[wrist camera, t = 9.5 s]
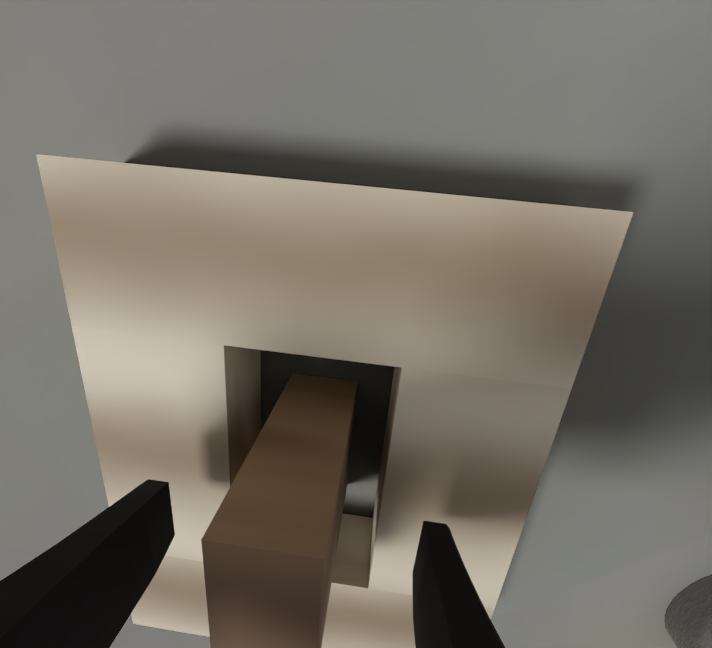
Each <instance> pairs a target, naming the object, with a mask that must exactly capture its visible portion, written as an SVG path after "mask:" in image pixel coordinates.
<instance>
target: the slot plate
mask: <svg viewBox="0 0 712 648" xmlns="http://www.w3.org/2000/svg"><path fill="white" fill-rule="evenodd" d="M36 156H37V160H38V165H39V170H40V175H41V180H42V185H43V189H44V194H45V199H46V204H47V209H48V214H49V219H50V223H51V228H52V233H53V238H54V243H55V248H56V252H57V257H58V262H59V267H60V272H61V277H62V281H63V286H64V291H65V296H66V301H67V306H68V310H69V315H70V320H71V325H72V330H73V335H74V340H75V344H76V349H77V354H78V359H79V364H80V369H81V373H82V378H83V383H84V388H85V393H86V398H87V402H88V407H89V412H90V417H91V422H92V427H93V431H94V436H95V441H96V446H97V451H98V456H99V461H100V465H101V470H102V475H103V480H104V485H105V490H106V494H107V499H108V504H109V507H110V506H111V505H113V504H114V503H115V502H117V501H118V500H120V499H121V498H122V497H124V496H125V495H126V494H128V493H129V492H131V491H132V490H133V489H135V488H136V487H138V486H139V485H140V484H142V483H143V482H145V481H146V480H148V479H150V480H157V481H164V482H169V490H170V498H171V506H172V515H173V523H174V531H175V536H174V538H173V540H172V542H171V544H170V546H169V548H168V550H167V552H166V554H165V556H164V558H163V560H162V562H161V564H160V566H159V568H158V570H157V572H156V574H155V576H154V577H153V579H152V581H151V582H150V584H149V586H148V587H147V589H146V590H145V592H144V594H143V595H142V597H141V598H140V600H139V602H138V603H137V605H136V606H135V608H134V609H133V611H132V613H131V615H132V620H133V624H138V625H144V626H150V627H156V628H161V629H167V630H173V631H179V632H184V633H190V634H196V635H202V636H208V637H210V633H209V622H208V611H207V600H206V588H205V577H204V566H203V554H202V543H201V539H202V537H203V536H204V534H205V532H206V530H207V528H208V527H209V525H210V523H211V521H212V519H213V517H214V516H215V514H216V512H217V510H218V508H219V507H220V505H221V503H222V501H223V499H224V497H225V496H226V494H227V492H228V490H229V488H230V486H231V485H232V483H233V481H234V479H235V477H236V476H237V474H238V472H239V470H240V468H241V466H242V465H243V463H244V461H245V459H246V457H247V456H248V454H249V452H250V450H251V448H252V446H253V445H254V443H255V441H256V439H257V437H258V435H259V434H260V432H261V350H265V351H273V352H281V353H289V354H297V355H305V356H313V357H321V358H329V359H337V360H345V361H353V362H361V363H369V364H377V365H385V366H393V367H394V373H393V380H392V387H391V394H390V401H389V408H388V415H387V422H386V429H385V436H384V443H383V450H382V456H381V463H380V470H379V477H378V484H377V491H376V498H375V505H374V512H373V518H370V517H364V516H357V515H350V514H344V513H342V520H341V526H340V532H339V539H338V545H337V551H336V558H335V564H334V570H333V577H332V583H331V589H330V596H329V602H328V608H327V614H326V621H325V627H324V633H323V640H322V646H321V648H416V646H415V636H414V625H413V577H412V573H413V568H414V563H415V558H416V554H417V549H418V544H419V539H420V535H421V530H422V525H423V521H430V522H437V523H443V524H447V526H448V527H449V528H450V531H451V534H452V536H453V539H454V541H455V544H456V546H457V549H458V551H459V554H460V556H461V558H462V561H463V563H464V565H465V567H466V570H467V572H468V574H469V576H470V579H471V581H472V583H473V585H474V587H475V589H476V591H477V594H478V596H479V598H480V600H481V602H482V604H483V606H484V608H485V610H486V612H487V614H488V616H489V618H490V620H491V617H492V614H493V612H494V609H495V606H496V603H497V600H498V597H499V594H500V592H501V589H502V586H503V583H504V580H505V577H506V575H507V572H508V569H509V566H510V563H511V560H512V557H513V555H514V552H515V549H516V546H517V543H518V540H519V537H520V535H521V532H522V529H523V526H524V523H525V520H526V517H527V515H528V512H529V509H530V506H531V503H532V500H533V498H534V495H535V492H536V489H537V486H538V483H539V480H540V478H541V475H542V472H543V469H544V466H545V463H546V460H547V458H548V455H549V452H550V449H551V446H552V443H553V440H554V438H555V435H556V432H557V429H558V426H559V423H560V421H561V418H562V415H563V412H564V409H565V406H566V403H567V401H568V398H569V395H570V392H571V389H572V386H573V383H574V381H575V378H576V375H577V372H578V369H579V366H580V363H581V361H582V358H583V355H584V352H585V349H586V346H587V344H588V341H589V338H590V335H591V332H592V329H593V326H594V324H595V321H596V318H597V315H598V312H599V309H600V306H601V304H602V301H603V298H604V295H605V292H606V289H607V286H608V284H609V281H610V278H611V275H612V272H613V269H614V267H615V264H616V261H617V258H618V255H619V252H620V249H621V247H622V244H623V241H624V238H625V235H626V232H627V229H628V227H629V224H630V221H631V218H632V215H633V212H627V211H616V210H606V209H596V208H586V207H576V206H566V205H555V204H545V203H535V202H524V201H514V200H504V199H493V198H483V197H473V196H462V195H452V194H442V193H431V192H421V191H411V190H400V189H390V188H380V187H369V186H359V185H349V184H338V183H328V182H318V181H307V180H297V179H287V178H276V177H266V176H256V175H245V174H235V173H225V172H214V171H204V170H194V169H183V168H173V167H163V166H152V165H142V164H132V163H121V162H111V161H100V160H90V159H79V158H69V157H58V156H48V155H37V154H36Z"/></svg>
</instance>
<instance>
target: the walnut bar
mask: <svg viewBox="0 0 712 648" xmlns="http://www.w3.org/2000/svg"><path fill="white" fill-rule="evenodd" d="M357 384H358V382H356V381H348V380H340V379H332V378H324V377H316V376H308V375H301V374H292V375H291V377H290V379H289V381H288V383H287V384H286V386H285V388H284V390H283V392H282V394H281V395H280V397H279V399H278V401H277V403H276V404H275V406H274V408H273V410H272V412H271V414H270V415H269V417H268V419H267V421H266V423H265V425H264V426H263V428H262V430H261V432H260V434H259V435H258V437H257V439H256V441H255V443H254V445H253V446H252V448H251V450H250V452H249V454H248V456H247V457H246V459H245V461H244V463H243V465H242V466H241V468H240V470H239V472H238V474H237V476H236V477H235V479H234V481H233V483H232V485H231V486H230V488H229V490H228V492H227V494H226V496H225V497H224V499H223V501H222V503H221V505H220V507H219V508H218V510H217V512H216V514H215V516H214V517H213V519H212V521H211V523H210V525H209V527H208V528H207V530H206V532H205V534H204V536H203V537H202V539H201V543H202V554H203V566H204V577H205V588H206V600H207V611H208V622H209V633H210V645H211V648H321V646H322V640H323V633H324V627H325V621H326V614H327V608H328V602H329V596H330V589H331V583H332V577H333V570H334V564H335V558H336V551H337V545H338V539H339V532H340V526H341V520H342V513H343V507H344V501H345V494H346V488H347V480H348V470H349V461H350V451H351V442H352V432H353V422H354V413H355V403H356V393H357Z"/></svg>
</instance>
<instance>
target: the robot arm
mask: <svg viewBox="0 0 712 648" xmlns="http://www.w3.org/2000/svg"><path fill="white" fill-rule="evenodd" d="M174 536H175V531H174V523H173V515H172V506H171V498H170V490H169V482H164V481H157V480H150V479H148V480H146V481H145V482H143V483H142V484H140V485H139V486H138V487H136V488H135V489H133V490H132V491H131V492H129V493H128V494H126V495H125V496H124V497H122V498H121V499H120V500H118V501H117V502H115V503H114V504H113V505H111V506H110V507H108V508H107V509H106V510H104V511H103V512H101V513H100V514H99V515H97V516H96V517H95V518H93V519H92V520H90V521H89V522H87V523H86V524H85V525H83V526H82V527H80V528H79V529H77V530H76V531H75V532H73V533H72V534H70V535H69V536H67V537H66V538H65V539H63V540H62V541H60V542H59V543H57V544H56V545H54V546H53V547H51V548H50V549H48V550H47V551H45V552H44V553H42V554H41V555H39V556H38V557H36V558H35V559H33V560H32V561H30V562H29V563H27V564H26V565H24V566H23V567H21V568H20V569H18V570H17V571H15V572H14V573H12V574H10V575H9V576H7V577H6V578H4V579H3V580H1V581H0V648H109V647H110V646H111V644H112V642H113V641H114V639H115V638H116V636H117V635H118V633H119V631H120V630H121V628H122V627H123V625H124V624H125V622H126V620H127V619H128V617H129V616H130V614H131V613H132V611H133V609H134V608H135V606H136V605H137V603H138V602H139V600H140V598H141V597H142V595H143V594H144V592H145V590H146V589H147V587H148V586H149V584H150V582H151V581H152V579H153V577H154V576H155V574H156V572H157V570H158V568H159V566H160V564H161V562H162V560H163V558H164V556H165V554H166V552H167V550H168V548H169V546H170V544H171V542H172V540H173V538H174ZM412 577H413V625H414V636H415V646H416V648H505V647H504V645H503V643H502V641H501V639H500V637H499V635H498V633H497V631H496V630H495V628H494V626H493V624H492V622H491V620H490V618H489V616H488V614H487V612H486V610H485V608H484V606H483V604H482V602H481V600H480V598H479V596H478V594H477V591H476V589H475V587H474V585H473V583H472V581H471V579H470V576H469V574H468V572H467V570H466V567H465V565H464V563H463V561H462V558H461V556H460V554H459V551H458V549H457V546H456V544H455V541H454V539H453V536H452V534H451V531H450V528H449V527H448V526H447V524H443V523H437V522H430V521H423V525H422V530H421V535H420V539H419V544H418V549H417V554H416V558H415V563H414V568H413V573H412Z"/></svg>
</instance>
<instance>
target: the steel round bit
mask: <svg viewBox="0 0 712 648" xmlns="http://www.w3.org/2000/svg"><path fill="white" fill-rule="evenodd" d="M665 626H666V629H667V632H668V633H669V635H670V637H671V638H672V640H673V641H674V643H675V645H676V646H677V648H712V574H711V575H709V576H706V577H704V578H701V579H700V580H698V581H696V582H694V583H692V584H690V585H689V586H687V587H686V588H684V589H683V590H682V591H681V592H679V593H678V594H677V595H676V596H675V597H674V599H673V600H672V601H671V603H670V604H669V606H668V608H667V610H666V614H665Z"/></svg>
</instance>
